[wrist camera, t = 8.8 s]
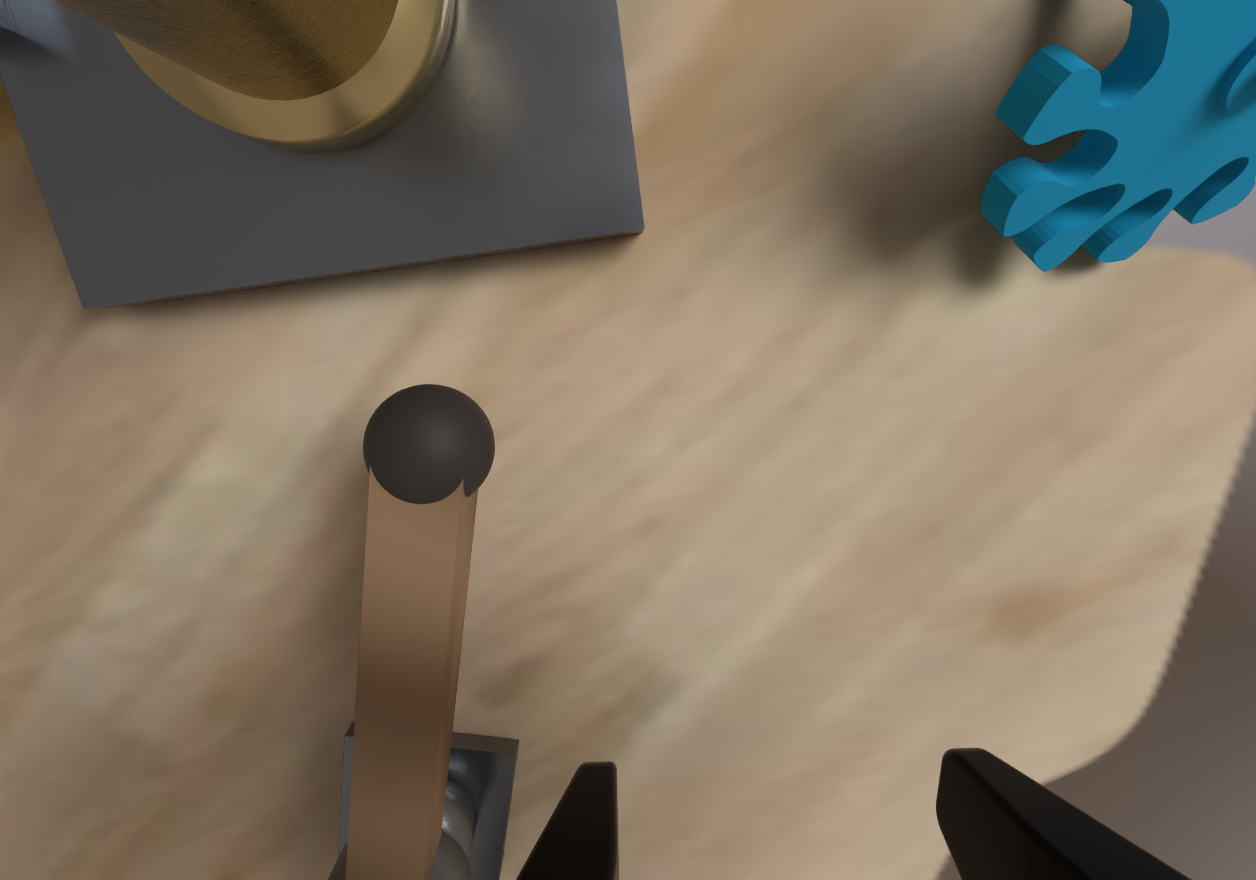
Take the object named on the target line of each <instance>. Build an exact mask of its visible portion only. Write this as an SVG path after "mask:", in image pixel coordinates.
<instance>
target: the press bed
mask: <svg viewBox="0 0 1256 880" xmlns="http://www.w3.org/2000/svg"><path fill="white" fill-rule="evenodd" d="M0 76H1V79H2V82H3V85H4V87H5V90H6V93H7V96H8V99H9V101H10V104H11V107H12V110H13V112H14V115H15V118H16V121H17V124H18V126H19V129H20V132H21V135H22V138H23V140H24V143H25V146H26V149H27V152H28V154H29V157H30V160H31V163H32V166H33V168H34V171H35V174H36V177H37V180H38V182H39V185H40V188H41V191H42V194H43V196H44V199H45V202H46V205H47V208H48V210H49V213H50V216H51V219H52V222H53V224H54V227H55V230H56V233H57V236H58V238H59V241H60V244H61V247H62V250H63V252H64V255H65V258H66V261H67V264H68V266H69V269H70V272H71V275H72V278H73V280H74V283H75V286H76V289H77V292H78V294H79V297H80V300H81V303H82V306H83V308H84V309H93V308H113V307H127V306H134V305H141V304H148V303H155V302H162V301H169V300H176V299H183V298H190V297H197V296H204V295H211V294H218V293H225V292H232V291H239V290H246V289H253V288H260V287H267V286H274V285H281V284H288V283H295V282H302V281H309V280H316V279H323V278H330V277H337V276H344V275H351V274H358V273H365V272H373V271H380V270H387V269H394V268H401V267H408V266H415V265H422V264H429V263H436V262H443V261H450V260H457V259H464V258H471V257H478V256H485V255H492V254H499V253H506V252H513V251H520V250H527V249H534V248H541V247H548V246H555V245H562V244H569V243H576V242H583V241H590V240H597V239H604V238H611V237H618V236H625V235H632V234H639V233H642V232H643V230H644V221H643V213H642V205H641V197H640V189H639V181H638V173H637V165H636V157H635V149H634V141H633V133H632V124H631V116H630V108H629V100H628V92H627V84H626V76H625V68H624V60H623V52H622V44H621V36H620V28H619V20H618V12H617V4H616V0H455V9H454V20H453V25H452V31H451V36H450V41H449V44H448V47H447V50H446V53H445V56H444V59H443V62H442V64H441V66H440V69H439V71H438V73H437V75H436V77H435V79H434V81H433V83H432V84H431V86H430V87H429V89H428V90H427V92H426V93H425V95H424V97H423V98H422V99H421V100H420V102H419V103H418V104H417V105H416V106H415V107H414V108H413V110H412V111H411V112H410V113H409V114H408V115H407V116H406V117H404V118H403V119H402V120H401V121H400V122H399V123H397V124H396V125H395V126H394V127H392V128H391V129H389V130H387V131H386V132H384V133H383V134H381V135H379V136H378V137H376V138H373V139H371V140H369V141H367V142H364V143H362V144H360V145H356V146H352V147H349V148H345V149H341V150H333V151H325V152H302V151H295V150H289V149H283V148H279V147H275V146H272V145H269V144H265V143H262V142H259V141H257V140H254V139H252V138H249V137H247V136H244V135H242V134H239V133H237V132H235V131H232V130H230V129H227V128H225V127H223V126H220V125H218V124H216V123H214V122H211V121H209V120H207V119H205V118H203V117H201V116H200V115H198V114H196V113H195V112H193V111H191V110H190V109H188V108H186V107H184V106H183V105H182V104H180V103H179V102H178V101H176V100H175V99H174V98H173V97H171V96H170V95H169V94H167V93H166V92H165V91H163V90H162V89H161V88H160V87H159V86H158V85H157V84H156V83H155V82H154V81H153V80H152V79H151V78H150V77H149V76H148V75H147V74H145V72H144V71H143V70H142V69H141V68H140V67H139V65H138V64H137V63H136V62H135V61H134V60H133V58H132V57H131V56H130V55H129V54H128V52H127V51H126V50H125V48H124V47H123V45H122V44H121V42H120V41H119V39H118V38H117V36H116V35H115V33H114V32H113V31H112V30H110V29H108V28H106V27H104V26H102V25H100V24H98V23H96V22H94V21H92V20H90V19H88V18H87V17H85V16H83V15H81V14H79V13H77V12H75V11H73V10H71V9H69V8H67V7H65V6H63V5H61V4H59V3H57V2H55V1H53V0H0Z"/></svg>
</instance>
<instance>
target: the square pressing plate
mask: <svg viewBox="0 0 1256 880" xmlns="http://www.w3.org/2000/svg"><path fill="white" fill-rule="evenodd" d="M354 728H355V722H353V723H352V724H351V726H350V728H349V730H348V731H347V733H346V735H345V741H344V759H343V777H342V795H341V813H340V831H339V849H338V857H339V855H340V853H341V851H342V849H343V847H344V846H345V844H346V843H347V842H348V828H349V812H350V795H351V778H352V761H353V744H354ZM518 744H519V740H514V739H505V738H496V737H487V736H478V735H469V734H460V733H452V739H451V749H450V758H449V768H448V777H447V787H446V796H445V805H444V815H443V824H442V830H443V831H444V832H446V833H447V834H449V835H450V836H451V837H452V838H453V839H455V840H456V841H457V842H458V844H459V845H460V846H461V847H462V849H463V850H464V852H465V854H466V856H467V858H468V861H469V864H470V870H471V879H470V880H499V879H500V873H501V868H502V860H503V853H504V846H505V839H506V831H507V824H508V817H509V810H510V802H511V795H512V788H513V781H514V773H515V766H516V759H517V752H518Z"/></svg>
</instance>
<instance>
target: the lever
mask: <svg viewBox="0 0 1256 880" xmlns="http://www.w3.org/2000/svg"><path fill="white" fill-rule="evenodd" d="M363 454H364V460H365V463H366V467H367V469H368V471H369V474H370V476H369V493H368V509H367V526H366V543H365V560H364V577H363V593H362V610H361V627H360V644H359V660H358V677H357V694H356V711H355V728H354V744H353V761H352V778H351V795H350V812H349V828H348V842H347V843H346V844H345V846H344V847H343V849H342V851H341V853H340V855H339V857H338V860H337V862H336V864H335V866H334V868H333V870H332V872H331V875H330V877H329V879H328V880H470V879H471V870H470V864H469V861H468V858H467V856H466V854H465V852H464V850H463V849H462V847H461V846H460V845H459V844H458V842H457V841H456V840H455V839H453V838H452V837H451V836H450V835H449V834H447V833H446V832H444V831H443V830H442V824H443V815H444V805H445V796H446V787H447V777H448V768H449V758H450V749H451V739H452V730H453V720H454V711H455V702H456V692H457V683H458V673H459V664H460V654H461V645H462V635H463V626H464V617H465V607H466V598H467V588H468V579H469V569H470V560H471V550H472V541H473V532H474V522H475V513H476V503H477V494H478V488H479V487H480V486H481V484H482V483H483V482H484V480H485V479H486V477H487V475H488V473H489V471H490V469H491V466H492V463H493V459H494V454H495V442H494V434H493V430H492V427H491V424H490V422H489V420H488V418H487V416H486V415H485V413H484V412H483V410H482V409H481V408H480V407H479V406H478V404H477V403H476V402H474V401H473V400H472V399H471V398H470V397H468V396H467V395H465V394H464V393H462V392H460V391H458V390H456V389H453V388H450V387H446V386H442V385H433V384H424V385H417V386H412V387H409V388H406V389H403V390H401V391H399V392H396V393H395V394H393V395H392V396H390V397H389V398H387V399H386V400H385V401H384V402H383V403H382V404H381V405H380V406H379V407H378V408H377V409H376V410H375V412H374V414H373V415H372V417H371V418H370V420H369V422H368V425H367V427H366V431H365V434H364V442H363Z"/></svg>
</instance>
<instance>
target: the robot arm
mask: <svg viewBox="0 0 1256 880" xmlns="http://www.w3.org/2000/svg"><path fill="white" fill-rule="evenodd" d="M936 813H937V819H938V823H939V826H940V829H941V831H942V834H943V836H944V839H945V841H946V843H947V846H948V848H949V850H950V853H951V855H952V858H953V860H954V862H955V865H956V867H957V869H958V872H959V874H960V877H961V879H962V880H1192V879H1190V878H1188V877H1187V876H1185V875H1183V874H1182V873H1180V872H1179V871H1177V870H1176V869H1174V868H1172V867H1171V866H1169V865H1168V864H1166V863H1164V862H1163V861H1161V860H1159V859H1158V858H1157V857H1155V856H1153V855H1152V854H1150V853H1149V852H1147V851H1145V850H1144V849H1142V848H1141V847H1139V846H1137V845H1136V844H1134V843H1133V842H1131V841H1129V840H1128V839H1126V838H1125V837H1123V836H1122V835H1120V834H1118V833H1117V832H1115V831H1114V830H1112V829H1110V828H1109V827H1107V826H1106V825H1104V824H1103V823H1101V822H1099V821H1097V820H1096V819H1095V818H1093V817H1091V816H1090V815H1088V814H1087V813H1085V812H1083V811H1082V810H1080V809H1078V808H1077V807H1076V806H1074V805H1072V804H1071V803H1069V802H1068V801H1066V800H1064V799H1063V798H1061V797H1060V796H1058V795H1056V794H1055V793H1053V792H1051V791H1050V790H1048V789H1047V788H1045V787H1044V786H1042V785H1041V784H1039V783H1037V782H1036V781H1034V780H1033V779H1031V778H1029V777H1028V776H1026V775H1025V774H1023V773H1021V772H1020V771H1018V770H1017V769H1015V768H1014V767H1012V766H1010V765H1009V764H1007V763H1006V762H1004V761H1002V760H1001V759H999V758H998V757H996V756H994V755H993V754H991V753H990V752H988V751H986V750H984V749H981V748H956V749H949V750H947V751H946V752H945V754H944V755H943V759H942V764H941V771H940V778H939V786H938V793H937V800H936ZM516 880H619V855H618V808H617V768H616V765H615V763H613V762H611V761H607V762H585V763H583V764H581V765H580V766H579V768H578V769H577V771H576V773H575V774H574V776H573V778H572V780H571V782H570V783H569V785H568V787H567V789H566V791H565V792H564V794H563V796H562V798H561V800H560V801H559V803H558V805H557V807H556V809H555V810H554V812H553V814H552V816H551V818H550V819H549V821H548V823H547V825H546V827H545V828H544V830H543V832H542V834H541V836H540V837H539V839H538V841H537V843H536V845H535V846H534V848H533V850H532V852H531V854H530V855H529V857H528V859H527V861H526V863H525V865H524V866H523V868H522V870H521V872H520V874H519V875H518V877H517V879H516Z"/></svg>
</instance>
